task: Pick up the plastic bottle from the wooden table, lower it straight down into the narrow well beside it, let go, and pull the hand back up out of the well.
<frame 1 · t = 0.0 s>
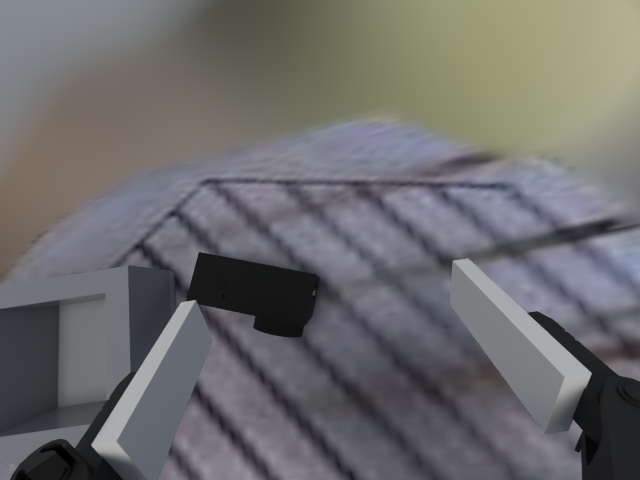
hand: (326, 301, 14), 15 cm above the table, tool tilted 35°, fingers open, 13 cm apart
digital camera: (268, 293, 30), on the table
well: (113, 346, 30), on the table
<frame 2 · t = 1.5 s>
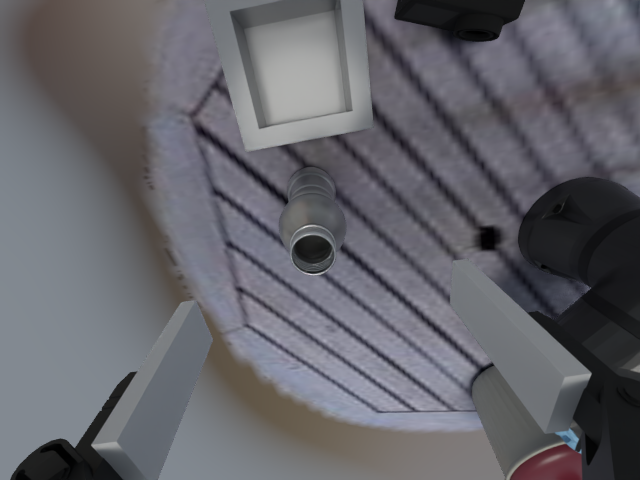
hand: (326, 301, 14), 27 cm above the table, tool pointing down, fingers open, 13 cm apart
digital camera: (439, 12, 31), on the table
well: (298, 73, 33), on the table
plastic bottle: (311, 187, 39), on the table
canister: (499, 379, 58), on the table
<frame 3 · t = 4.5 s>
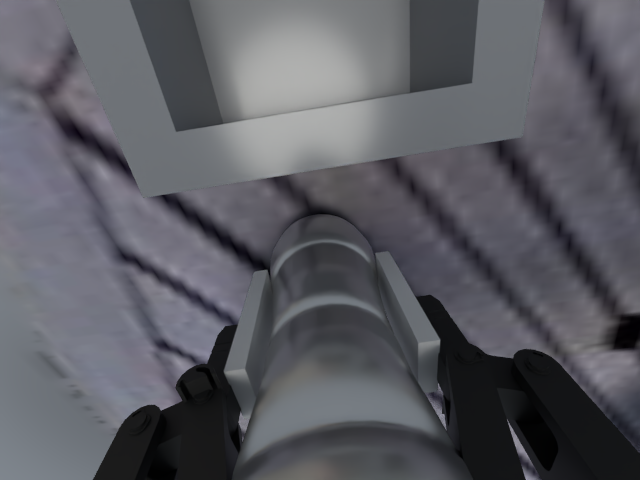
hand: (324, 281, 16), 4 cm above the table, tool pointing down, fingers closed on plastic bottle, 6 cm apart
plastic bottle: (320, 248, 20), on the table, touching gripper
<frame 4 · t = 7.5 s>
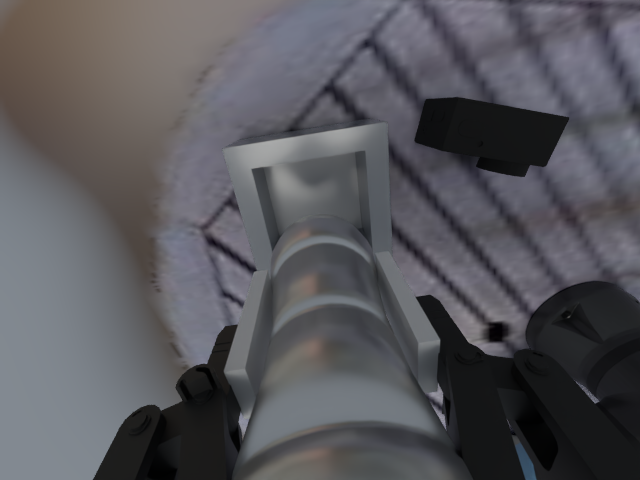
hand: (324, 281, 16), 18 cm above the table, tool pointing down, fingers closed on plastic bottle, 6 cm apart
digital camera: (460, 134, 31), on the table
well: (314, 192, 33), on the table
plastic bottle: (320, 248, 20), point 14 cm above the table, touching gripper
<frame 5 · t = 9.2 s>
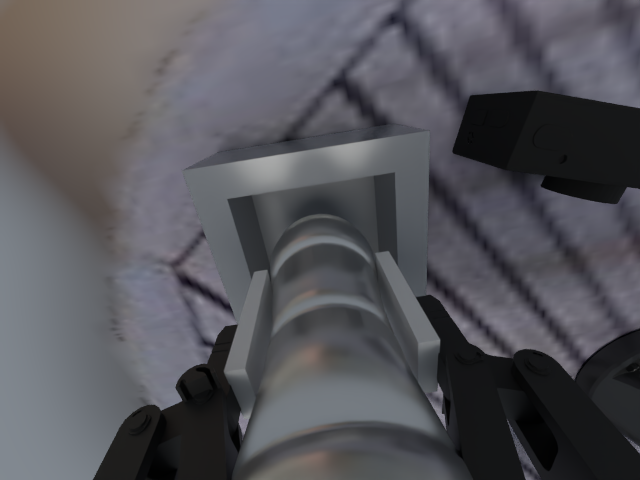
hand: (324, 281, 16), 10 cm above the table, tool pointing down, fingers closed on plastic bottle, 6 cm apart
digital camera: (513, 141, 23), on the table
well: (318, 220, 25), on the table
plastic bottle: (320, 248, 20), point 6 cm above the table, touching gripper
when the fingers open (7 cm above the table, at t = 10.6 s): plastic bottle drops 2 cm, resting on well.
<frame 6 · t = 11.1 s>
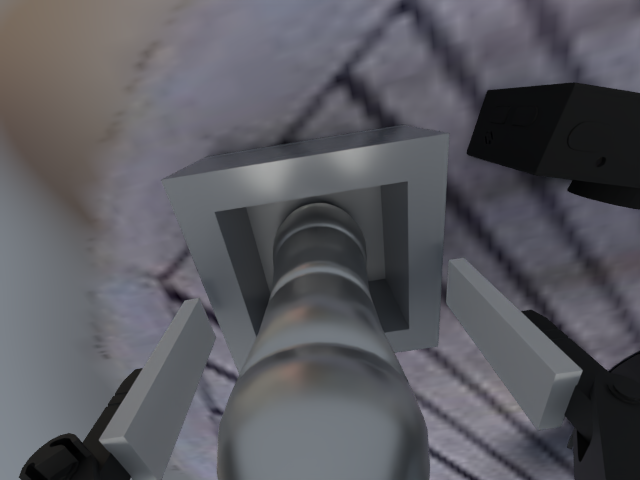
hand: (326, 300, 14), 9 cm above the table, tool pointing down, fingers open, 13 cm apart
digital camera: (534, 141, 21), on the table
well: (318, 230, 23), on the table
plastic bottle: (319, 235, 22), point 1 cm above the table, touching well
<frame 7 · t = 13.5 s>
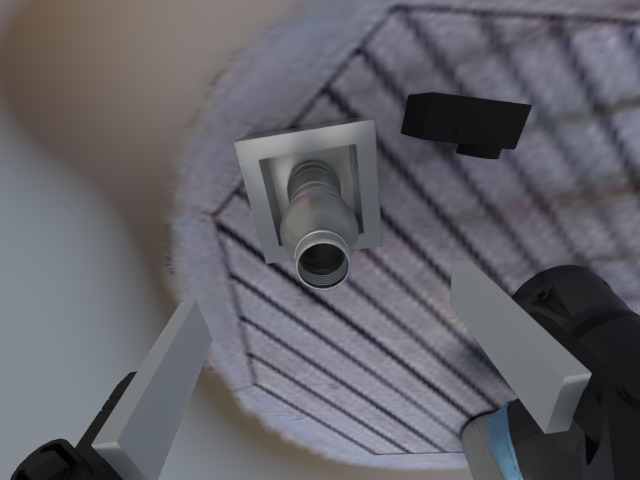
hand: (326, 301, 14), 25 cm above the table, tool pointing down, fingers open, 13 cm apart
digital camera: (442, 124, 34), on the table
well: (313, 183, 36), on the table
plastic bottle: (313, 184, 36), point 1 cm above the table, touching well
canister: (486, 425, 63), on the table
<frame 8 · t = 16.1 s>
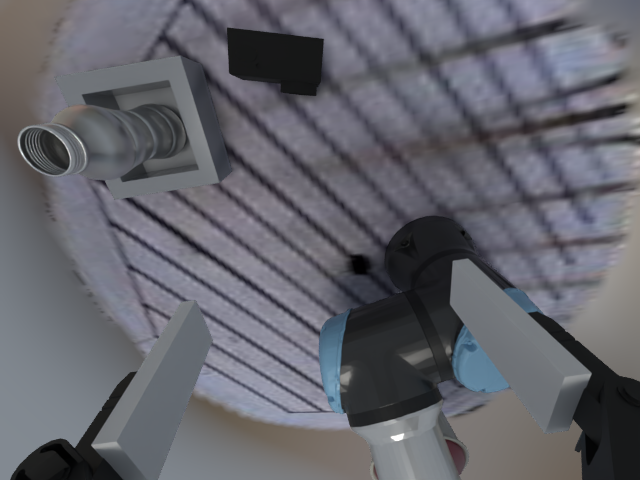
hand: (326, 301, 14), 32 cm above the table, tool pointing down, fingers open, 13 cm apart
digital camera: (280, 70, 37), on the table
well: (169, 130, 39), on the table
plastic bottle: (167, 130, 39), point 1 cm above the table, touching well
canister: (393, 383, 65), on the table
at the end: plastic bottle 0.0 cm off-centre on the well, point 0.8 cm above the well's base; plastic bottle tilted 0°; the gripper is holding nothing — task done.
